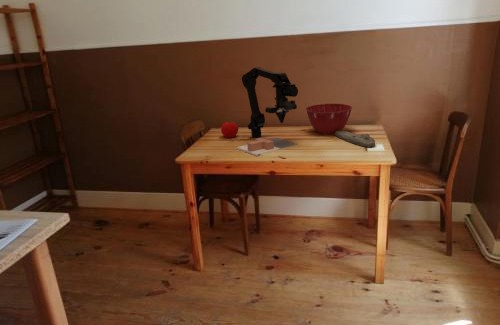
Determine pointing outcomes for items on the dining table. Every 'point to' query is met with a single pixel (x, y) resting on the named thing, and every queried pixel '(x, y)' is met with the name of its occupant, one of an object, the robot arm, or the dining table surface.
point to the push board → (277, 145)
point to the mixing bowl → (328, 117)
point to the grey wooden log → (356, 138)
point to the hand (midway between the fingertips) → (281, 123)
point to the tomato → (229, 129)
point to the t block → (260, 144)
